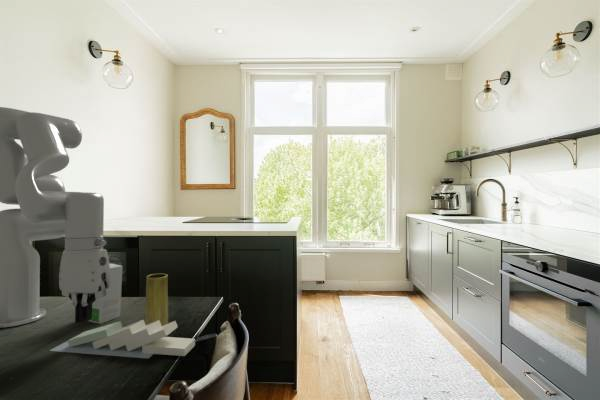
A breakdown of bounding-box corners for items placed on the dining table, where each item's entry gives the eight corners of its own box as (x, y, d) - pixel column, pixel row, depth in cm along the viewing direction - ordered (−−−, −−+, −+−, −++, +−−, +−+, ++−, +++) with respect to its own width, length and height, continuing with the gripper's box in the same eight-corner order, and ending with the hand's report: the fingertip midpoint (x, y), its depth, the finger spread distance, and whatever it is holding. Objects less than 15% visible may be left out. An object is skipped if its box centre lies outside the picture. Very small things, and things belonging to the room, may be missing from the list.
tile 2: (92, 342, 71) (129, 327, 70) (108, 333, 76) (143, 319, 75) (94, 349, 71) (132, 334, 70) (110, 339, 76) (145, 325, 74)
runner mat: (49, 352, 70) (49, 350, 70) (81, 335, 79) (81, 333, 79) (148, 360, 67) (148, 358, 67) (170, 341, 76) (170, 339, 76)
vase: (159, 334, 80) (159, 279, 80) (138, 332, 81) (139, 277, 81) (173, 325, 86) (174, 273, 86) (153, 323, 87) (154, 272, 87)
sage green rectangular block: (67, 340, 71) (105, 329, 70) (84, 331, 76) (120, 321, 75) (69, 347, 71) (107, 336, 70) (86, 337, 76) (122, 327, 75)
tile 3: (108, 343, 70) (146, 328, 69) (123, 334, 75) (159, 319, 74) (111, 350, 70) (149, 335, 69) (126, 340, 75) (161, 326, 74)
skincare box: (80, 320, 88) (81, 266, 88) (103, 313, 94) (103, 261, 94) (100, 325, 85) (101, 268, 85) (122, 317, 91) (123, 264, 91)
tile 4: (125, 344, 70) (163, 329, 69) (139, 335, 75) (175, 320, 74) (127, 351, 70) (166, 336, 69) (141, 341, 75) (177, 326, 74)
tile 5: (142, 345, 69) (184, 348, 68) (155, 336, 74) (195, 338, 73) (142, 352, 69) (184, 356, 68) (155, 342, 74) (194, 345, 73)
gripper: (124, 243, 77) (123, 317, 77) (69, 241, 78) (68, 313, 78) (101, 247, 69) (100, 329, 69) (41, 245, 71) (40, 325, 71)
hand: (83, 321), depth 74 cm, fingers closed
